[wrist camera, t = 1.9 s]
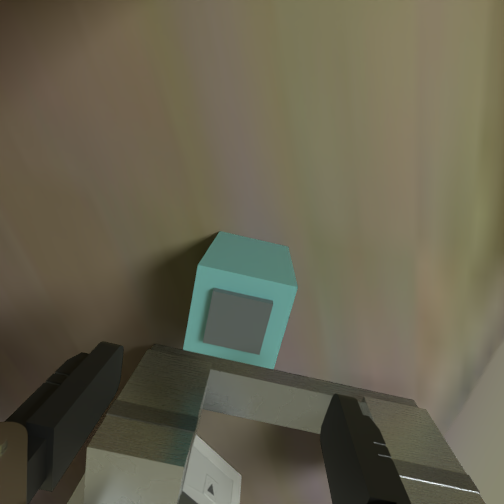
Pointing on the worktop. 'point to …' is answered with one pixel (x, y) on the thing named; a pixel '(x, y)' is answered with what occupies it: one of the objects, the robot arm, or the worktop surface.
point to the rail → (251, 407)
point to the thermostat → (198, 479)
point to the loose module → (241, 300)
